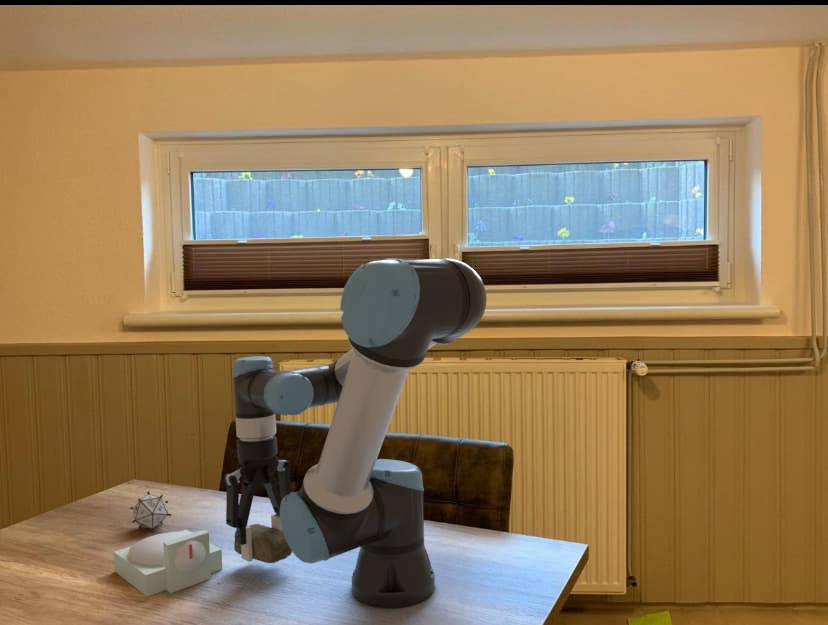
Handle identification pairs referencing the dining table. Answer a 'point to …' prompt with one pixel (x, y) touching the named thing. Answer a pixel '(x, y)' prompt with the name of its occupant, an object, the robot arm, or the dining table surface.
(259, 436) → the robot arm
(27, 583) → the dining table surface
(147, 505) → the game die
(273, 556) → the stone block
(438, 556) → the dining table surface
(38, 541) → the dining table surface
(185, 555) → the scale
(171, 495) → the dining table surface
